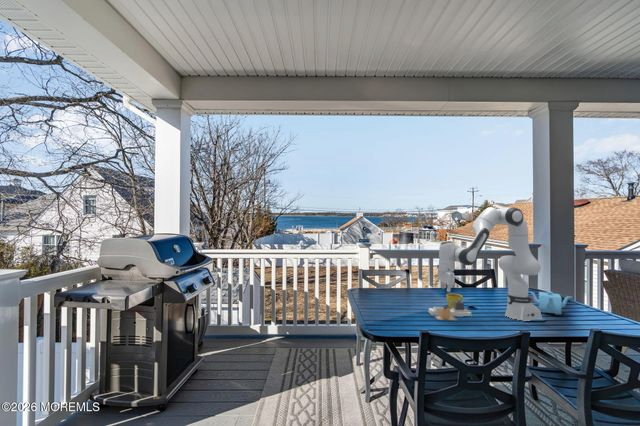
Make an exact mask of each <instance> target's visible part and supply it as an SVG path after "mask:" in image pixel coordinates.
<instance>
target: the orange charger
mask: <svg viewBox="0 0 640 426" xmlns="http://www.w3.org/2000/svg"><path fill="white" fill-rule="evenodd" d="M443 307H444V308H440V315H439V316H440V317H441V318H447V319H450V309H449V308H448V304H444V305H443Z"/></svg>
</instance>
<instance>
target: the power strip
mask: <svg viewBox="0 0 640 426" xmlns="http://www.w3.org/2000/svg"><path fill="white" fill-rule="evenodd" d="M440 308H444V306H433V308H432V307H431V308H430V307H429V308H428V310H427V311H428V313H429V314H430V315H431V316H440ZM450 316H454V317H463V316H471V317H472V312H471V311H470V310H469V309H465V308H464V310H455V309H454V308H452V309H450Z"/></svg>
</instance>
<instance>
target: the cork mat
mask: <svg viewBox="0 0 640 426" xmlns="http://www.w3.org/2000/svg"><path fill="white" fill-rule="evenodd" d="M433 316H434V318H435V319H437V320H438V321H439V320H440V321H458V320H459V319H458V318H456V316H450V319H447V318H441V317H440V315H433Z"/></svg>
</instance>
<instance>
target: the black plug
mask: <svg viewBox="0 0 640 426" xmlns="http://www.w3.org/2000/svg"><path fill="white" fill-rule="evenodd" d="M454 309H455V310H464V309H465V302H463V301H462V302H461V299H458V302H454Z"/></svg>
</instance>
